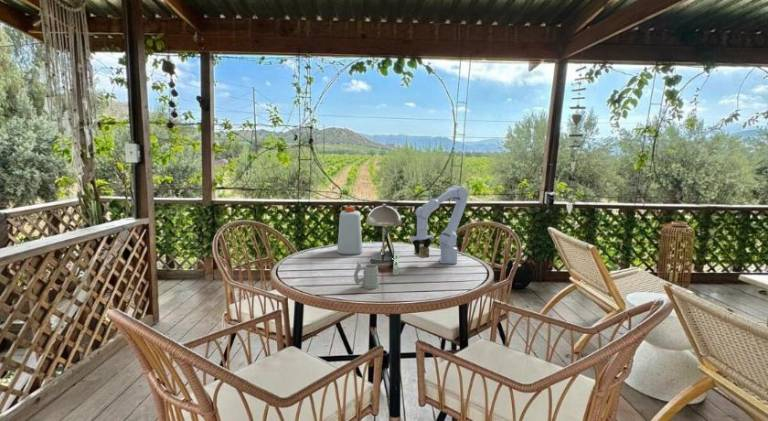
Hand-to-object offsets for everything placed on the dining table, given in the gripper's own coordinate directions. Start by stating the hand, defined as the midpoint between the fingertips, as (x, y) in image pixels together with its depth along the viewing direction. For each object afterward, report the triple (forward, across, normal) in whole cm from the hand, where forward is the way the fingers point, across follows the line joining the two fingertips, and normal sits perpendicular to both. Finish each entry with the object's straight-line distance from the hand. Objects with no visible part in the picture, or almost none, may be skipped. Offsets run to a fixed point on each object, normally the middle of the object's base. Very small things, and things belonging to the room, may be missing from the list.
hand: (421, 252), depth 208 cm
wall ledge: (+7, +14, -3) cm, 16 cm away
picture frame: (+7, +8, -26) cm, 28 cm away
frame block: (+2, 0, 0) cm, 2 cm away
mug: (+7, +41, +17) cm, 45 cm away
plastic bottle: (+7, +26, -41) cm, 49 cm away
